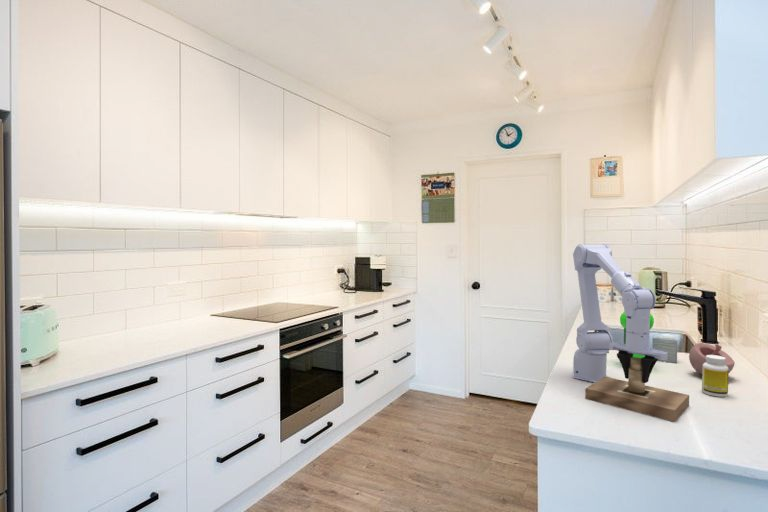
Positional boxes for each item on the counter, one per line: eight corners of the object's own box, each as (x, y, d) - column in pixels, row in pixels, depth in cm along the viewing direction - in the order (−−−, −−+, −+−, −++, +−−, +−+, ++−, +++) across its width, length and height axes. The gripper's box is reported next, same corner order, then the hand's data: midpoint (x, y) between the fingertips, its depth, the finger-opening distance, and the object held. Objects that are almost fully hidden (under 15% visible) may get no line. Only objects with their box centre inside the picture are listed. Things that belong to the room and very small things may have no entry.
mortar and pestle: (719, 385, 137) (720, 348, 136) (680, 374, 148) (681, 340, 147) (742, 379, 142) (743, 344, 141) (702, 369, 153) (703, 337, 152)
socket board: (585, 398, 126) (585, 387, 126) (604, 386, 136) (604, 376, 136) (674, 421, 110) (674, 409, 110) (689, 405, 120) (689, 394, 120)
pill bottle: (732, 398, 126) (733, 360, 125) (708, 396, 127) (709, 359, 126) (720, 390, 132) (721, 354, 131) (697, 389, 133) (698, 353, 133)
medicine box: (676, 360, 164) (677, 337, 163) (677, 363, 160) (677, 340, 159) (652, 357, 168) (652, 335, 167) (651, 360, 164) (652, 337, 164)
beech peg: (625, 389, 123) (626, 358, 123) (632, 386, 126) (632, 355, 125) (640, 393, 120) (641, 361, 120) (647, 390, 122) (647, 359, 122)
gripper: (672, 334, 119) (671, 383, 119) (617, 326, 130) (616, 370, 131) (661, 338, 114) (660, 389, 115) (606, 329, 126) (605, 375, 127)
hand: (636, 379), depth 123 cm, fingers closed on beech peg, 4 cm apart
